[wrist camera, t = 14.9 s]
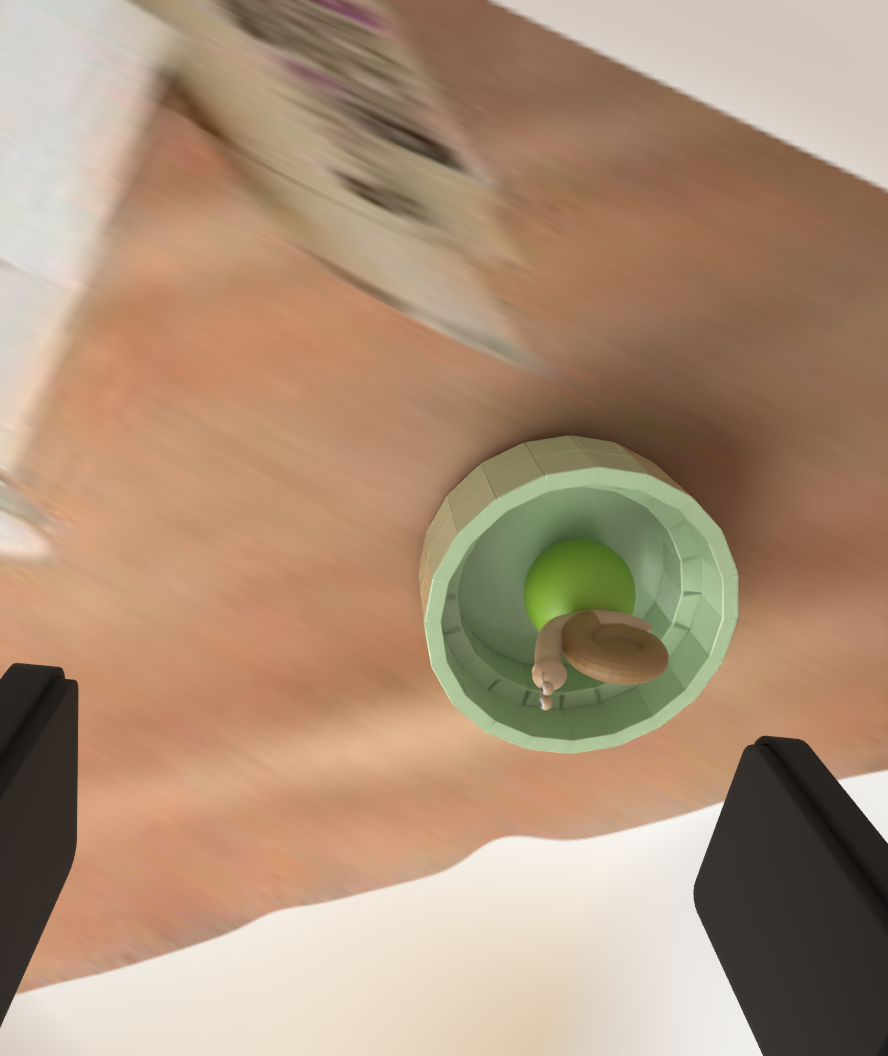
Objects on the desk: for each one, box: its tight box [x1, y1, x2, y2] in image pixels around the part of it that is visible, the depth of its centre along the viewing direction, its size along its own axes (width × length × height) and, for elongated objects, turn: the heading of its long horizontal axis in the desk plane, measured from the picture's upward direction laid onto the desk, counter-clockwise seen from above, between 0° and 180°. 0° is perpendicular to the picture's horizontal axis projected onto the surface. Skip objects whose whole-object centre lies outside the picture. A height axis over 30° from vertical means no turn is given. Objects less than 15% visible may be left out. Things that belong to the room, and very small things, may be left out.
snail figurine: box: [524, 539, 669, 710], centre depth 37 cm, size 5×6×12 cm
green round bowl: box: [418, 435, 738, 754], centre depth 40 cm, size 15×15×6 cm
